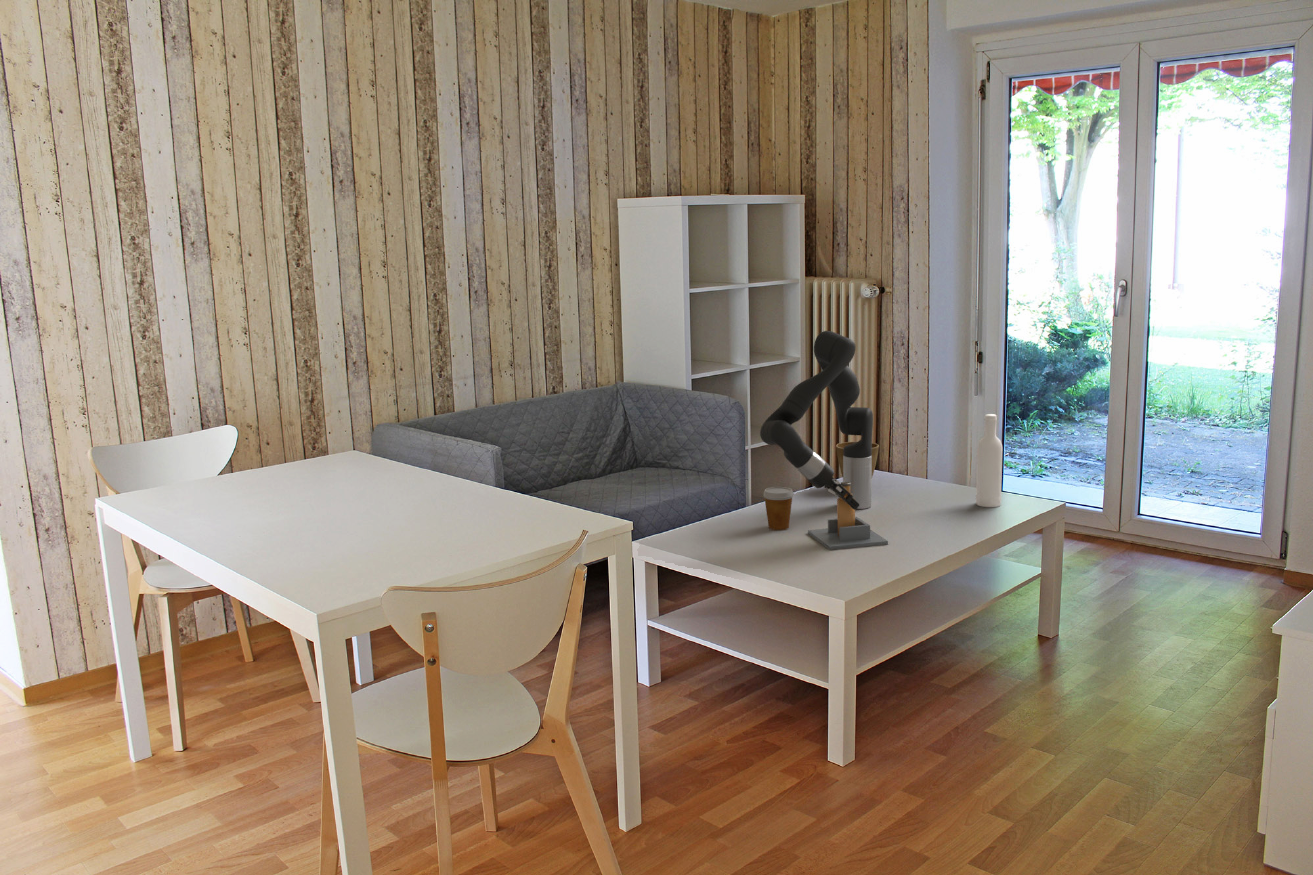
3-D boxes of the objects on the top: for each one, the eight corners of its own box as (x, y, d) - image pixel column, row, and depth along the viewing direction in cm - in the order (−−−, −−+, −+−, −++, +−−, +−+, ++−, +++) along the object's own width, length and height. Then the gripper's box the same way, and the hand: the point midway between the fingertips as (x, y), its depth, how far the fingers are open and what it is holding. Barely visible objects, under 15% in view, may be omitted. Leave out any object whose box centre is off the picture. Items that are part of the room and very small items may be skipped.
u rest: (829, 550, 294) (829, 533, 293) (807, 533, 311) (807, 517, 310) (888, 544, 297) (888, 527, 296) (863, 528, 314) (863, 512, 314)
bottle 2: (1002, 507, 332) (1005, 417, 327) (977, 507, 334) (979, 417, 328) (999, 501, 340) (1002, 412, 334) (974, 501, 341) (977, 412, 336)
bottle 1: (834, 534, 306) (833, 482, 303) (850, 531, 307) (849, 480, 304) (842, 538, 301) (841, 485, 298) (858, 536, 302) (857, 483, 299)
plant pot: (887, 489, 361) (887, 445, 358) (855, 496, 353) (855, 451, 350) (859, 482, 373) (859, 439, 370) (827, 488, 366) (827, 444, 363)
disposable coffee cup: (800, 526, 319) (799, 489, 316) (782, 533, 312) (781, 495, 309) (775, 521, 325) (775, 485, 323) (757, 528, 318) (756, 490, 316)
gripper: (832, 464, 291) (870, 500, 295) (814, 454, 305) (850, 489, 309) (814, 483, 291) (852, 519, 295) (797, 473, 305) (834, 507, 309)
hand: (851, 504), depth 302 cm, fingers open, 7 cm apart
